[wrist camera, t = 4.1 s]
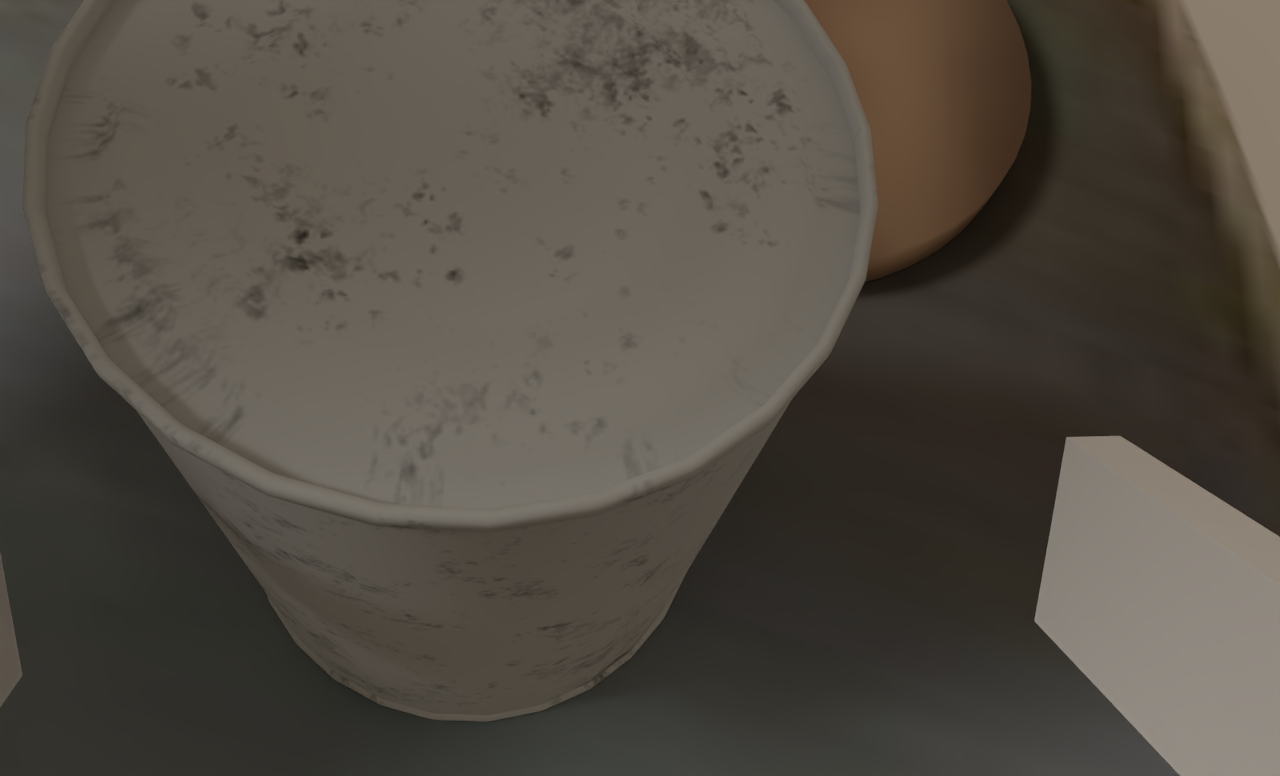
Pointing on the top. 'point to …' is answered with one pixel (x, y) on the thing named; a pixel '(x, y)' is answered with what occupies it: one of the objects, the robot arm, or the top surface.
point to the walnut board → (932, 112)
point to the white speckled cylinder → (455, 300)
